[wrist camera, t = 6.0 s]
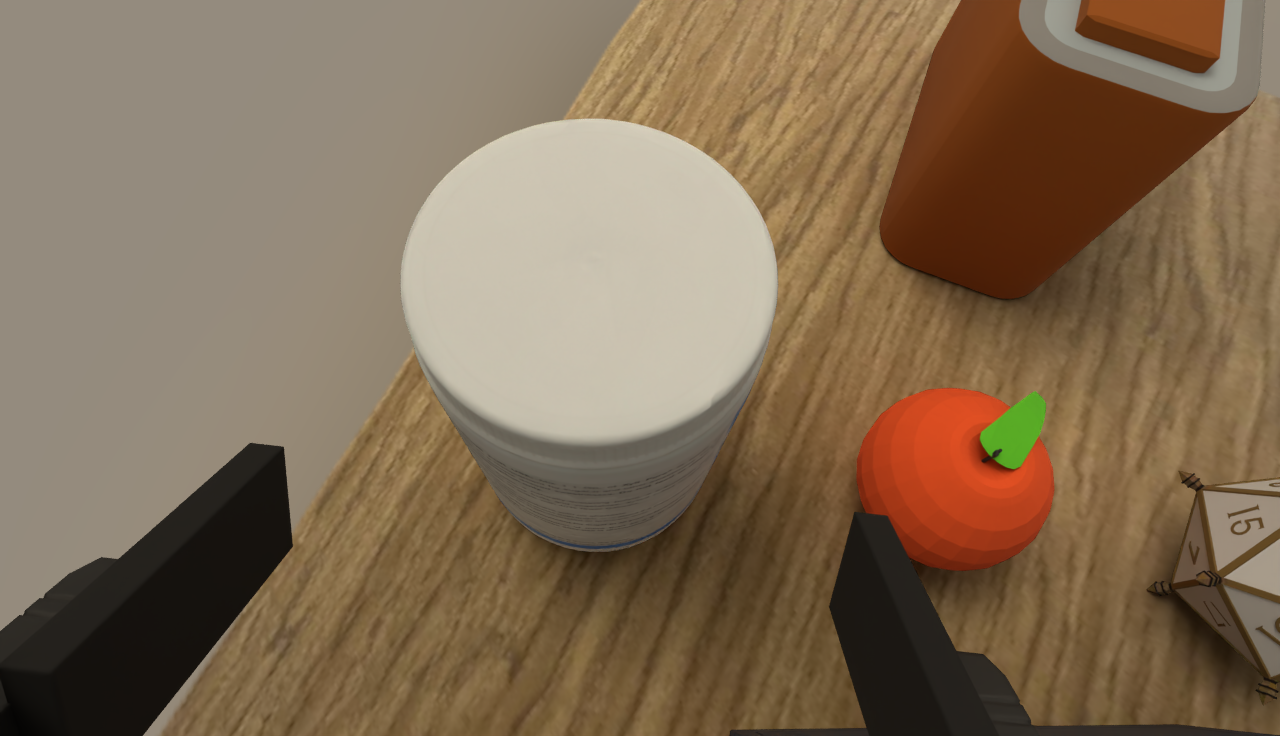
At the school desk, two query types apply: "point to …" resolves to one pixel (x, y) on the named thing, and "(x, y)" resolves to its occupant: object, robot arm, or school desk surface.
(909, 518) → the clementine
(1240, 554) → the game die
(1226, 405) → the school desk surface
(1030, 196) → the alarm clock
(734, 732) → the bin
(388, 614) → the school desk surface
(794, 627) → the school desk surface
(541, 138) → the supplement tub
